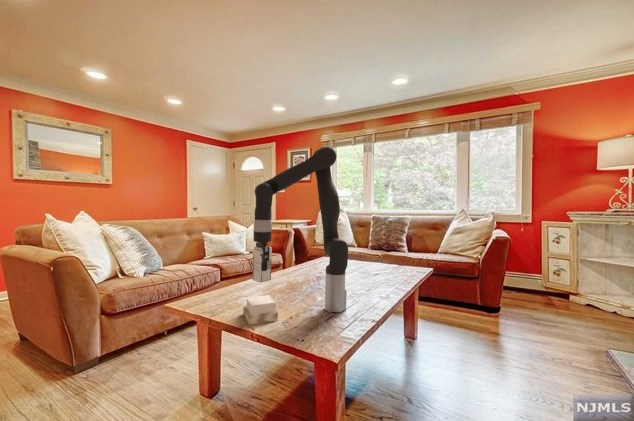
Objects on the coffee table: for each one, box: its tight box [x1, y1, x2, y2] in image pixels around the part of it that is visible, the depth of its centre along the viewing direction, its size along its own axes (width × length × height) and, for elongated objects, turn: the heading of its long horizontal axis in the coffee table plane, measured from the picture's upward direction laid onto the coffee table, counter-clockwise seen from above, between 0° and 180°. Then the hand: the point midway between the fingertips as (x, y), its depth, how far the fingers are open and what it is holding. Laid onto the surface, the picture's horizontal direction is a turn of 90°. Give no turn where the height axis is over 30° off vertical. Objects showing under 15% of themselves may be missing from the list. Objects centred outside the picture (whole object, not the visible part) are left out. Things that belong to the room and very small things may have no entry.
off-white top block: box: [246, 294, 277, 315], centre depth 121 cm, size 10×10×4 cm
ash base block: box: [242, 305, 279, 326], centre depth 121 cm, size 12×12×4 cm
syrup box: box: [252, 245, 273, 283], centre depth 121 cm, size 6×6×14 cm
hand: (261, 268), depth 121 cm, fingers closed on syrup box, 7 cm apart
